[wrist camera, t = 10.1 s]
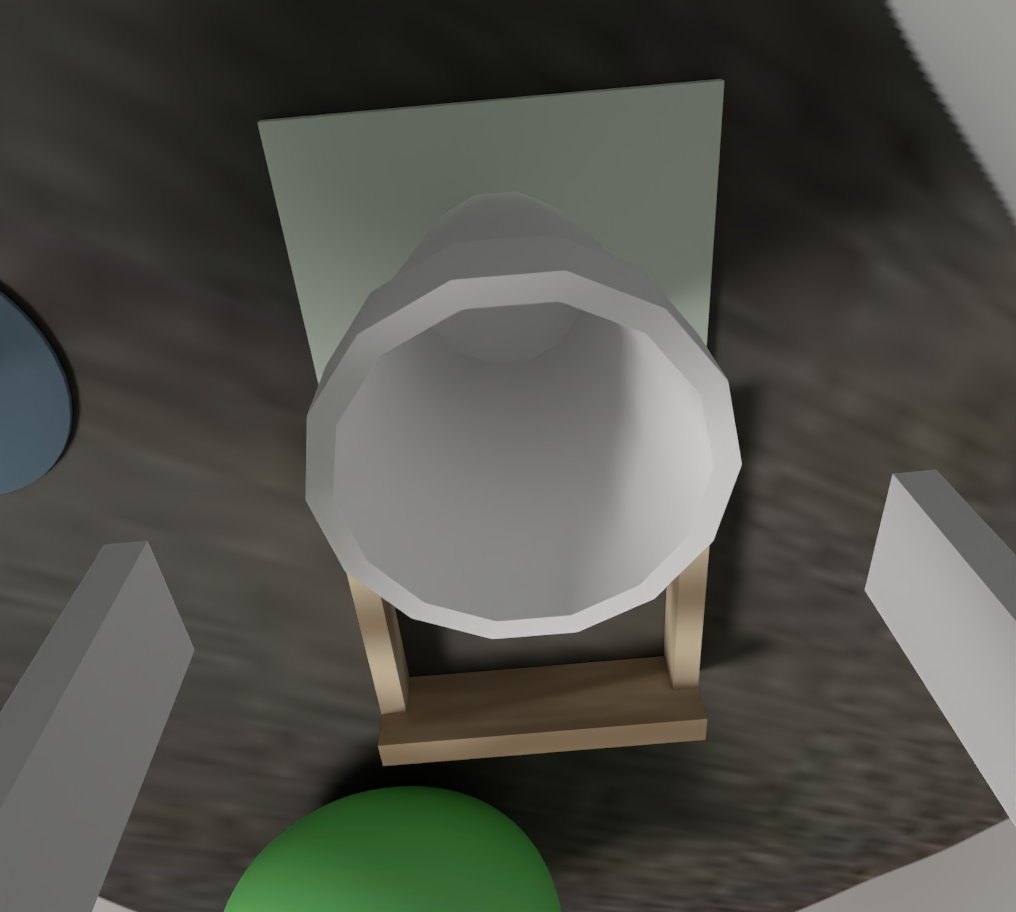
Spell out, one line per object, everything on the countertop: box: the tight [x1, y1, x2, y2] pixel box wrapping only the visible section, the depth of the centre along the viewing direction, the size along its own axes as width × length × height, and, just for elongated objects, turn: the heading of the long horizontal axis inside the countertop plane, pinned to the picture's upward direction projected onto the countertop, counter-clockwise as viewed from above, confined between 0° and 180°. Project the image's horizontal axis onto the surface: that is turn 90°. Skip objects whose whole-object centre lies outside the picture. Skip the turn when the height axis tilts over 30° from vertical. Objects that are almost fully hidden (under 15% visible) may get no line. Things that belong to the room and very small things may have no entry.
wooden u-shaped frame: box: [347, 545, 710, 766], centre depth 34 cm, size 16×15×4 cm
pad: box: [257, 79, 724, 384], centre depth 28 cm, size 12×15×1 cm
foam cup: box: [305, 191, 742, 639], centre depth 22 cm, size 10×9×13 cm
